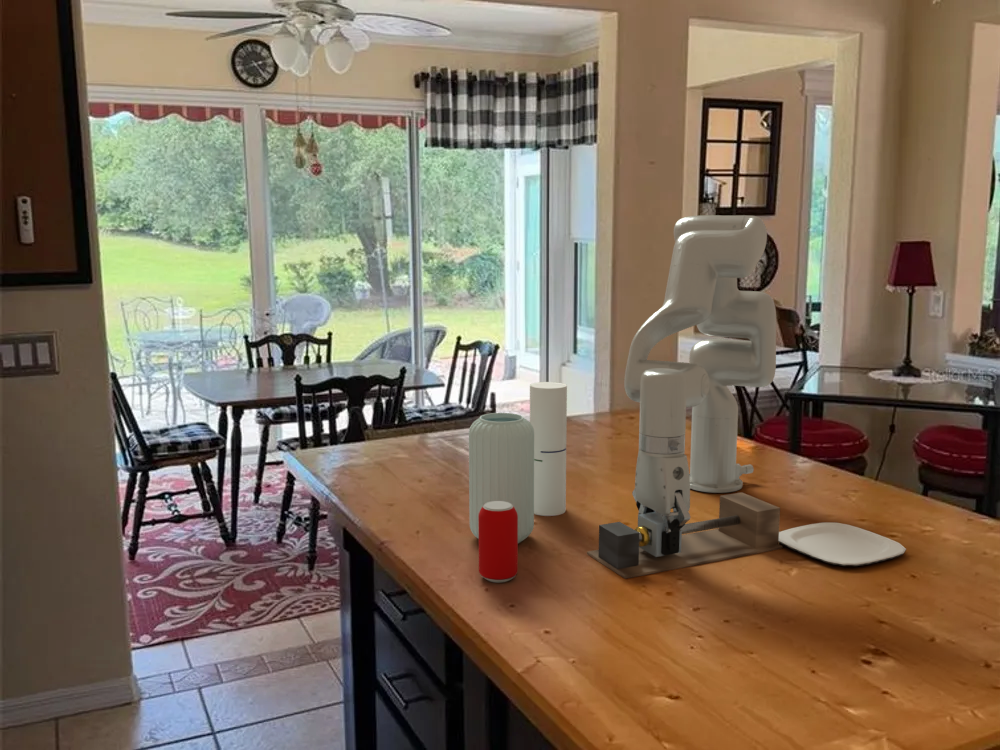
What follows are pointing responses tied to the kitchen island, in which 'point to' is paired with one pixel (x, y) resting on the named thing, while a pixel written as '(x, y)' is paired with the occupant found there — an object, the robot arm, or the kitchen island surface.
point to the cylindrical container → (549, 446)
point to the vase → (502, 467)
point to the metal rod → (691, 527)
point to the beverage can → (498, 541)
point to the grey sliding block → (655, 532)
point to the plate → (840, 544)
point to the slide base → (694, 540)
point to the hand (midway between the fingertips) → (658, 546)
